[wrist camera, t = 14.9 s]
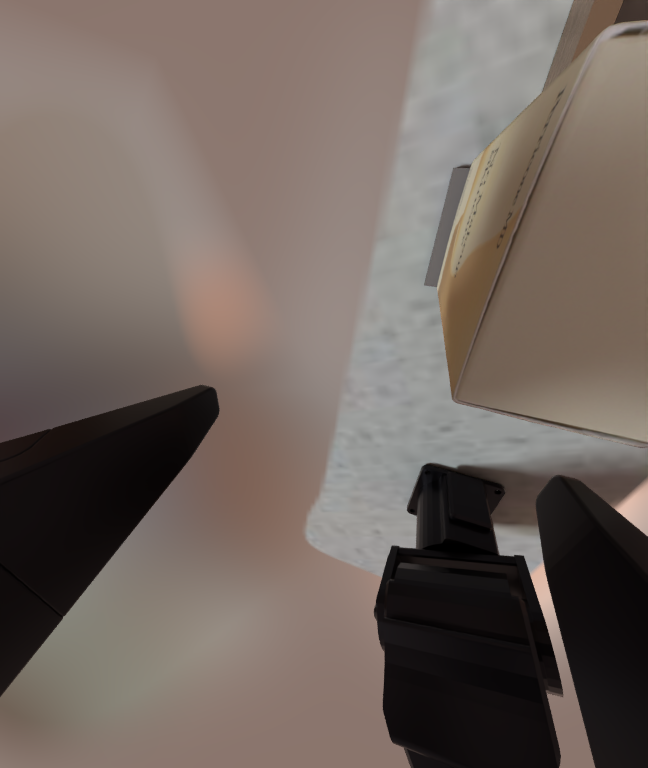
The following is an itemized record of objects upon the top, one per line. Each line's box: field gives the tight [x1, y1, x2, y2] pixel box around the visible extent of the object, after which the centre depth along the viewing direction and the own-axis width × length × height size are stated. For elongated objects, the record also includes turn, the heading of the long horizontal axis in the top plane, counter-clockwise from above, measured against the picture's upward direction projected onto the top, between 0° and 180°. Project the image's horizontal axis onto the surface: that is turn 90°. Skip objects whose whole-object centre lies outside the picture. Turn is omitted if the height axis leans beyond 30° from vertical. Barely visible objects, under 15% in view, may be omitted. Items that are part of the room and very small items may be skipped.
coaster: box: [424, 168, 470, 287], centre depth 15 cm, size 6×6×1 cm
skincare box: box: [437, 20, 648, 448], centre depth 9 cm, size 6×4×12 cm
